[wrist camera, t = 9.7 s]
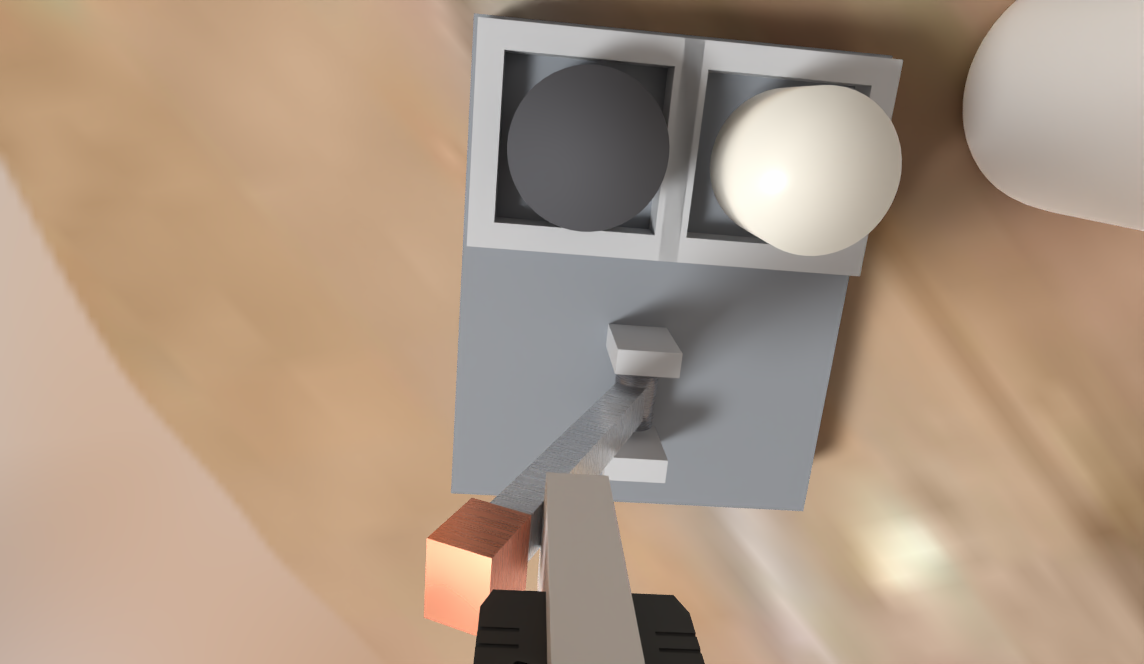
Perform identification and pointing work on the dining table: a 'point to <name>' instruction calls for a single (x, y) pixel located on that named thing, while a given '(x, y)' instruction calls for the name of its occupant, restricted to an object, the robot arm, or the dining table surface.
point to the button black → (588, 148)
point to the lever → (524, 509)
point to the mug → (1062, 108)
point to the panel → (646, 282)
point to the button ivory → (807, 167)
